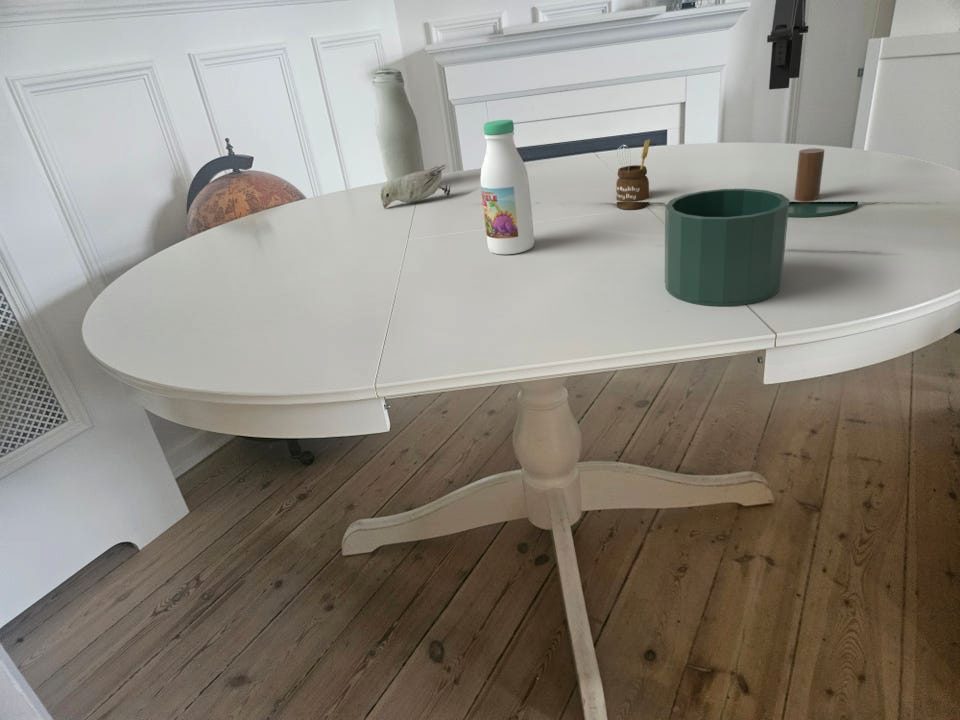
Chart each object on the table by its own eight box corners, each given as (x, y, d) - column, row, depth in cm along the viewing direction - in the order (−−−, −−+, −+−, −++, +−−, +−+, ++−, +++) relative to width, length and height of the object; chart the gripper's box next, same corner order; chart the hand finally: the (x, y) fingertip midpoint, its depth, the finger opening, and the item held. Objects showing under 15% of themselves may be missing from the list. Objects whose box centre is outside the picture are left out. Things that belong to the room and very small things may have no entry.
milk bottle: (514, 238, 109) (502, 116, 100) (544, 245, 104) (533, 117, 95) (479, 250, 106) (463, 125, 97) (507, 258, 100) (493, 126, 91)
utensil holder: (627, 201, 122) (625, 136, 117) (656, 203, 118) (656, 136, 113) (610, 209, 118) (608, 142, 113) (640, 211, 114) (639, 143, 109)
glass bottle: (428, 183, 163) (410, 64, 150) (425, 191, 154) (404, 66, 141) (391, 187, 164) (369, 70, 151) (385, 196, 155) (361, 72, 142)
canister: (785, 269, 82) (794, 187, 77) (773, 310, 71) (782, 219, 67) (678, 264, 88) (680, 189, 83) (653, 301, 78) (653, 218, 73)
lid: (858, 196, 106) (866, 139, 102) (856, 221, 95) (865, 159, 91) (762, 196, 113) (766, 143, 109) (750, 220, 102) (754, 162, 98)
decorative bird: (381, 206, 146) (375, 173, 142) (449, 194, 148) (444, 161, 145) (384, 211, 141) (378, 177, 137) (454, 198, 144) (449, 165, 140)
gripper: (781, -66, 103) (770, 76, 112) (756, -76, 84) (746, 95, 93) (833, -75, 99) (818, 72, 108) (819, -88, 80) (802, 91, 90)
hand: (784, 83), depth 101 cm, fingers open, 13 cm apart
